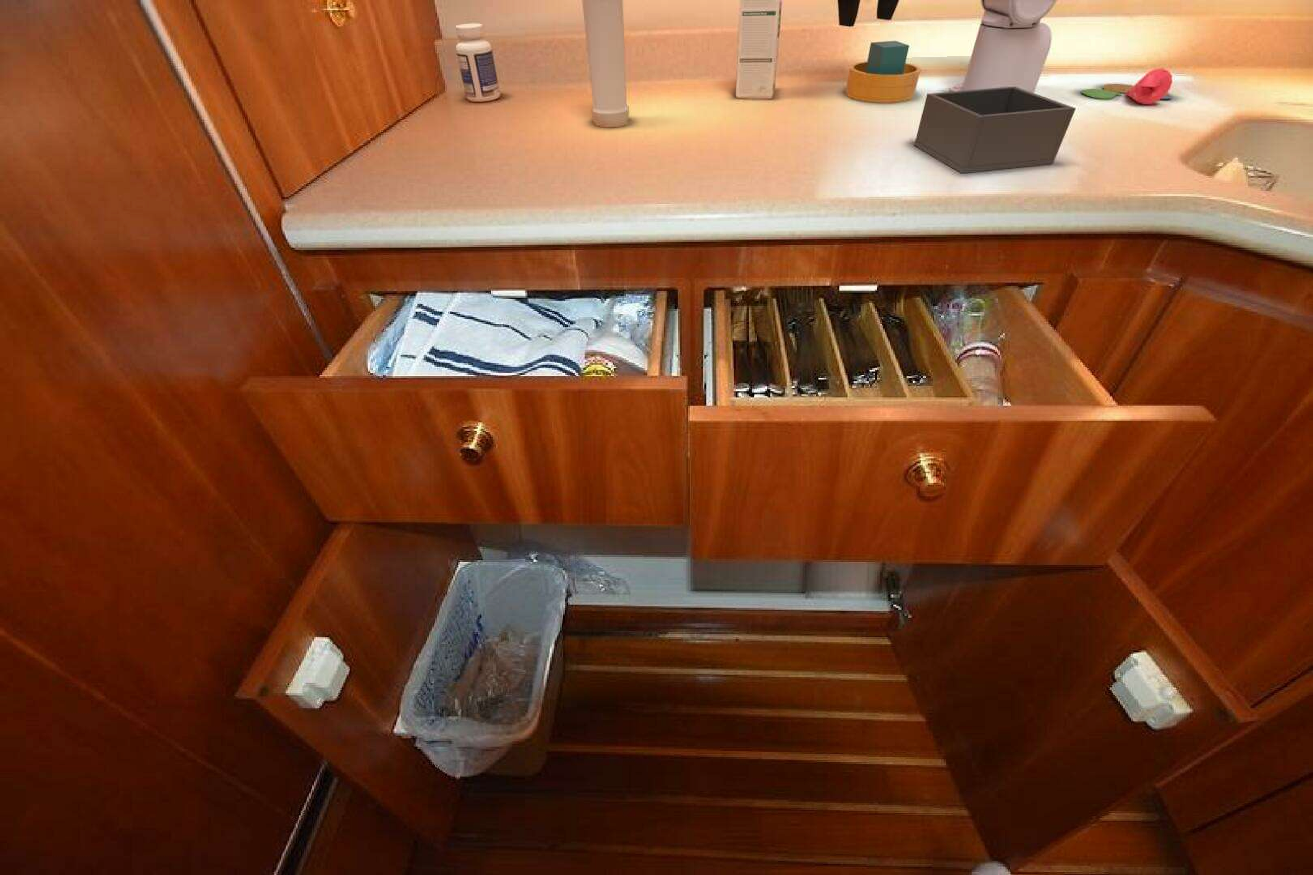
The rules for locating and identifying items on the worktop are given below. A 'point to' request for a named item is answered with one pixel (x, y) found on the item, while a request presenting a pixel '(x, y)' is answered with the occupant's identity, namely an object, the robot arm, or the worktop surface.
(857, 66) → the bowl
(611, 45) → the bottle
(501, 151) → the worktop surface
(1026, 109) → the bin
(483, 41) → the pill bottle
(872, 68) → the toy block
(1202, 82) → the worktop surface
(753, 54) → the syrup box
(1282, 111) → the worktop surface
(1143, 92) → the toy pieces
